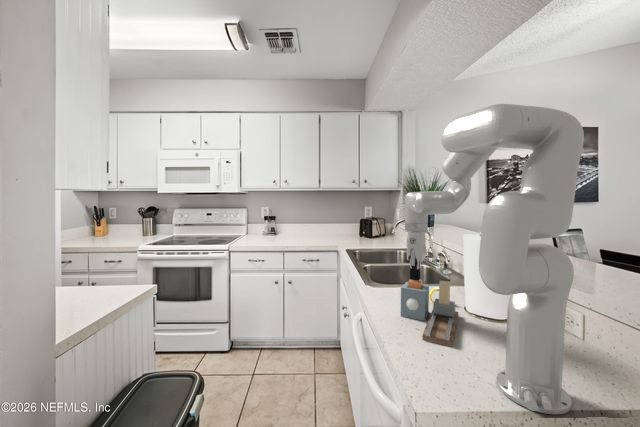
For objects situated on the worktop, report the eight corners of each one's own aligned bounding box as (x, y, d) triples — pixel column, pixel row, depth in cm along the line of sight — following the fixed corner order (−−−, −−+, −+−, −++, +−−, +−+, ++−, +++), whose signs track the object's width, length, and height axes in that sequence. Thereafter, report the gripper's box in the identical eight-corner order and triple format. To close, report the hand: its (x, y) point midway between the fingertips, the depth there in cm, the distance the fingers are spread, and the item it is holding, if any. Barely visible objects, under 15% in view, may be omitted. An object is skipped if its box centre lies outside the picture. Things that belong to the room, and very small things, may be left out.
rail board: (452, 346, 78) (453, 337, 78) (422, 339, 82) (422, 330, 82) (458, 316, 98) (458, 308, 98) (433, 311, 102) (433, 304, 102)
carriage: (453, 316, 90) (453, 286, 90) (433, 313, 93) (433, 283, 93) (454, 310, 96) (455, 281, 95) (435, 306, 99) (436, 278, 98)
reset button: (420, 291, 97) (420, 283, 96) (408, 289, 98) (408, 281, 98) (422, 288, 100) (422, 280, 100) (410, 286, 102) (410, 278, 102)
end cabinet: (424, 321, 94) (425, 291, 93) (400, 316, 98) (400, 288, 97) (428, 312, 101) (429, 284, 101) (405, 308, 105) (406, 281, 105)
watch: (431, 304, 109) (430, 289, 109) (428, 302, 112) (427, 287, 112) (446, 303, 109) (446, 288, 109) (443, 301, 112) (443, 286, 112)
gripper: (423, 230, 90) (422, 287, 91) (430, 226, 103) (429, 275, 104) (399, 229, 93) (399, 283, 95) (409, 225, 106) (408, 272, 108)
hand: (415, 279), depth 99 cm, fingers closed
